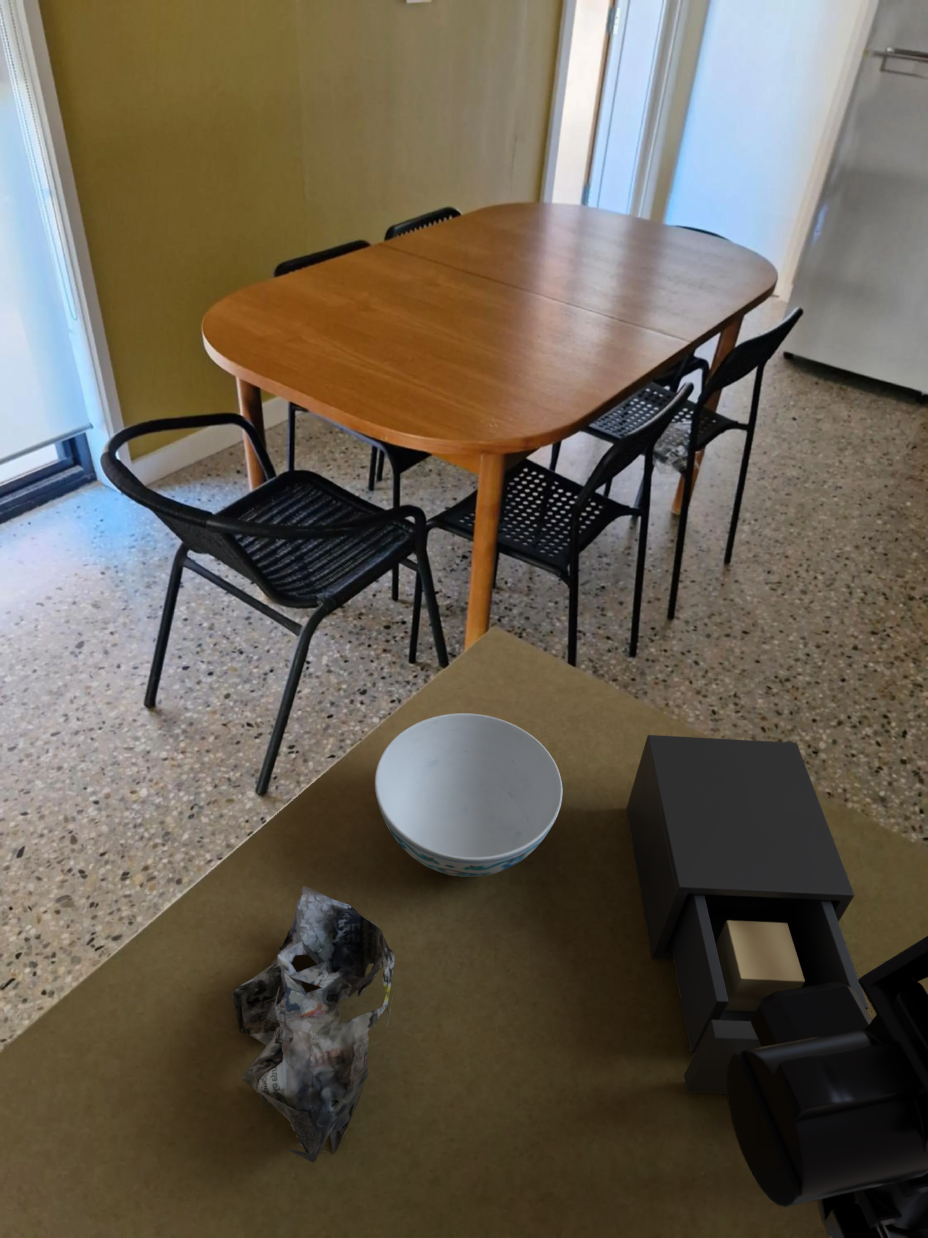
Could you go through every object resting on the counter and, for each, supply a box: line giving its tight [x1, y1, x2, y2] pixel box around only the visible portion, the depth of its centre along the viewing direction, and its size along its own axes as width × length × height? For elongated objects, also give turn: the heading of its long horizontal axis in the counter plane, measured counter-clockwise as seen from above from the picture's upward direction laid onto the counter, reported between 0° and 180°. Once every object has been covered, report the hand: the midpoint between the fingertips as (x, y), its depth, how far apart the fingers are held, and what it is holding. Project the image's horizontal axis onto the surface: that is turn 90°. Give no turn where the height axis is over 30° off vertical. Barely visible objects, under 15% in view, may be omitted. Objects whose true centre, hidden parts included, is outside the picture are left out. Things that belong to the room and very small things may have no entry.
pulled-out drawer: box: [670, 894, 869, 1095], centre depth 61 cm, size 18×11×8 cm, turn 179°
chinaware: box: [374, 712, 563, 878], centre depth 73 cm, size 15×15×8 cm
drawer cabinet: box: [626, 734, 855, 961], centre depth 71 cm, size 15×13×10 cm
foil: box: [231, 885, 396, 1163], centre depth 60 cm, size 12×11×15 cm
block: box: [716, 920, 805, 1012], centre depth 64 cm, size 4×4×4 cm
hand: (832, 1226), depth 51 cm, fingers closed
